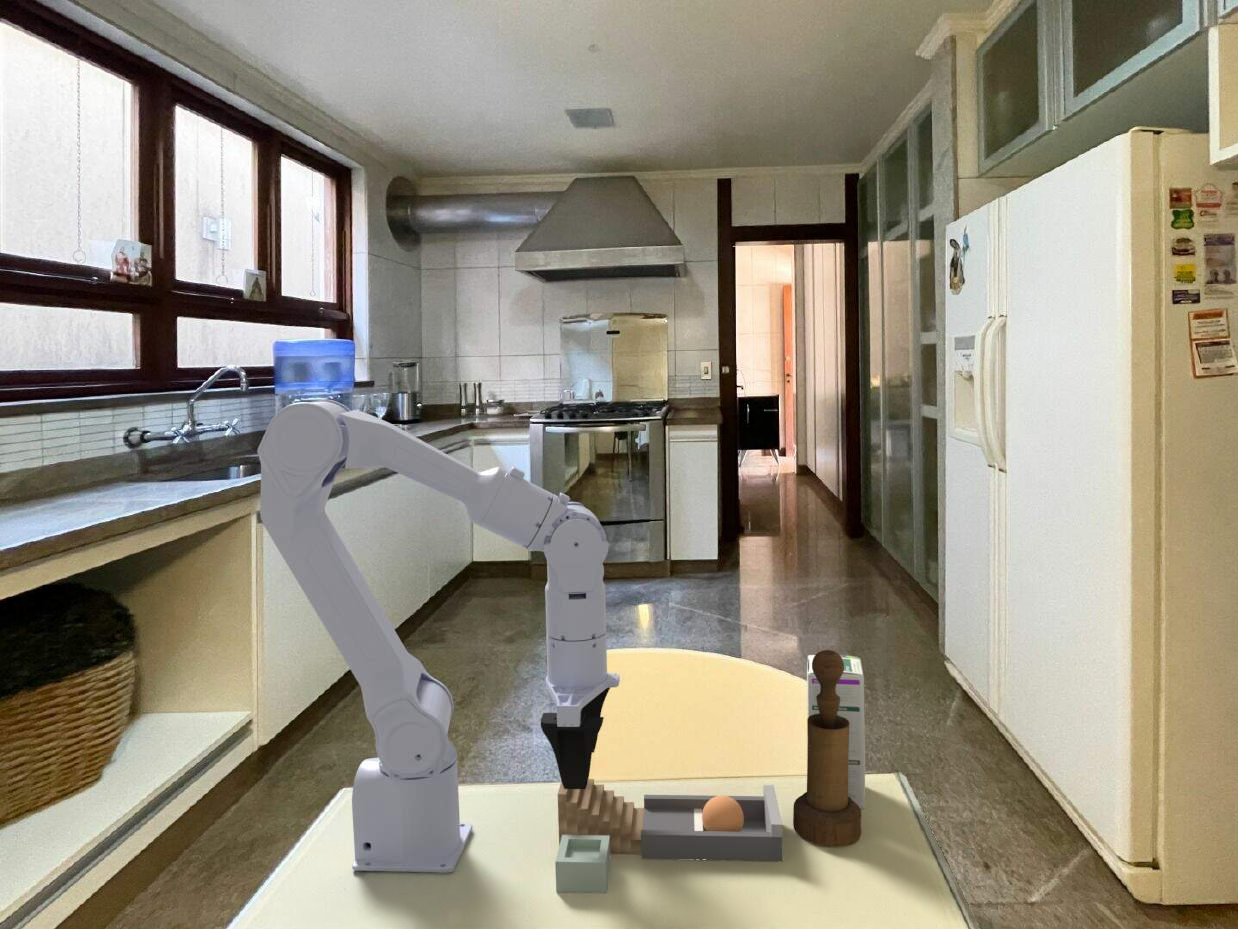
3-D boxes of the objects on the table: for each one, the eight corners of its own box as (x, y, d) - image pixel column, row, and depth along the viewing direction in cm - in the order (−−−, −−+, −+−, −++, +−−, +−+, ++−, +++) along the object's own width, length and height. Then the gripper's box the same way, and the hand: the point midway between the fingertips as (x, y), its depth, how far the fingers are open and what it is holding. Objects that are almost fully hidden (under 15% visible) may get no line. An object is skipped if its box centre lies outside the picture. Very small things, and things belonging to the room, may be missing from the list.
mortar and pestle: (876, 837, 83) (878, 656, 82) (822, 855, 81) (823, 668, 79) (831, 807, 89) (832, 637, 88) (779, 822, 87) (779, 647, 85)
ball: (707, 804, 81) (749, 816, 81) (708, 783, 85) (747, 794, 85) (696, 842, 82) (738, 854, 81) (698, 819, 86) (737, 830, 85)
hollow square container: (556, 892, 76) (555, 861, 76) (563, 863, 80) (562, 834, 80) (606, 893, 76) (605, 862, 75) (610, 864, 80) (609, 835, 80)
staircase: (559, 852, 82) (557, 794, 81) (567, 820, 88) (566, 765, 87) (641, 854, 81) (640, 795, 81) (644, 821, 87) (643, 766, 87)
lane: (641, 859, 81) (640, 822, 80) (644, 817, 88) (644, 783, 88) (782, 861, 80) (782, 824, 79) (773, 819, 87) (773, 785, 87)
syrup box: (866, 811, 89) (867, 673, 87) (807, 806, 90) (807, 670, 88) (862, 784, 94) (863, 655, 93) (806, 780, 95) (806, 652, 94)
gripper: (612, 657, 75) (615, 806, 77) (623, 611, 90) (625, 737, 91) (531, 657, 76) (536, 805, 77) (555, 611, 90) (559, 736, 92)
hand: (580, 768), depth 84 cm, fingers open, 7 cm apart
